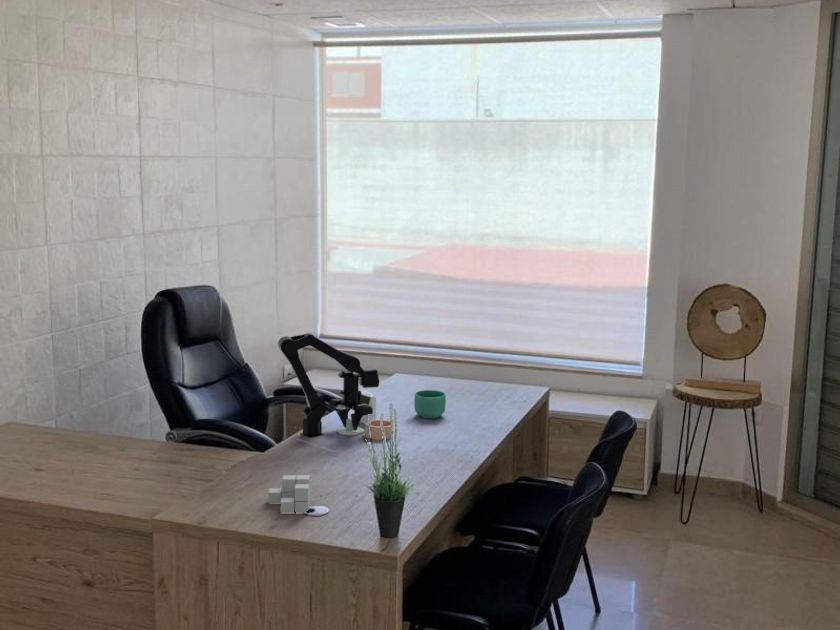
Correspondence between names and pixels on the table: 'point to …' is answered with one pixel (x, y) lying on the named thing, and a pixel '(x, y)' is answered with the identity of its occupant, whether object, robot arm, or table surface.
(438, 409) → the mug
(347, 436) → the mat
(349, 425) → the lid
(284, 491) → the puzzle cube
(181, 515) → the table surface
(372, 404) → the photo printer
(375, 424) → the bowl
